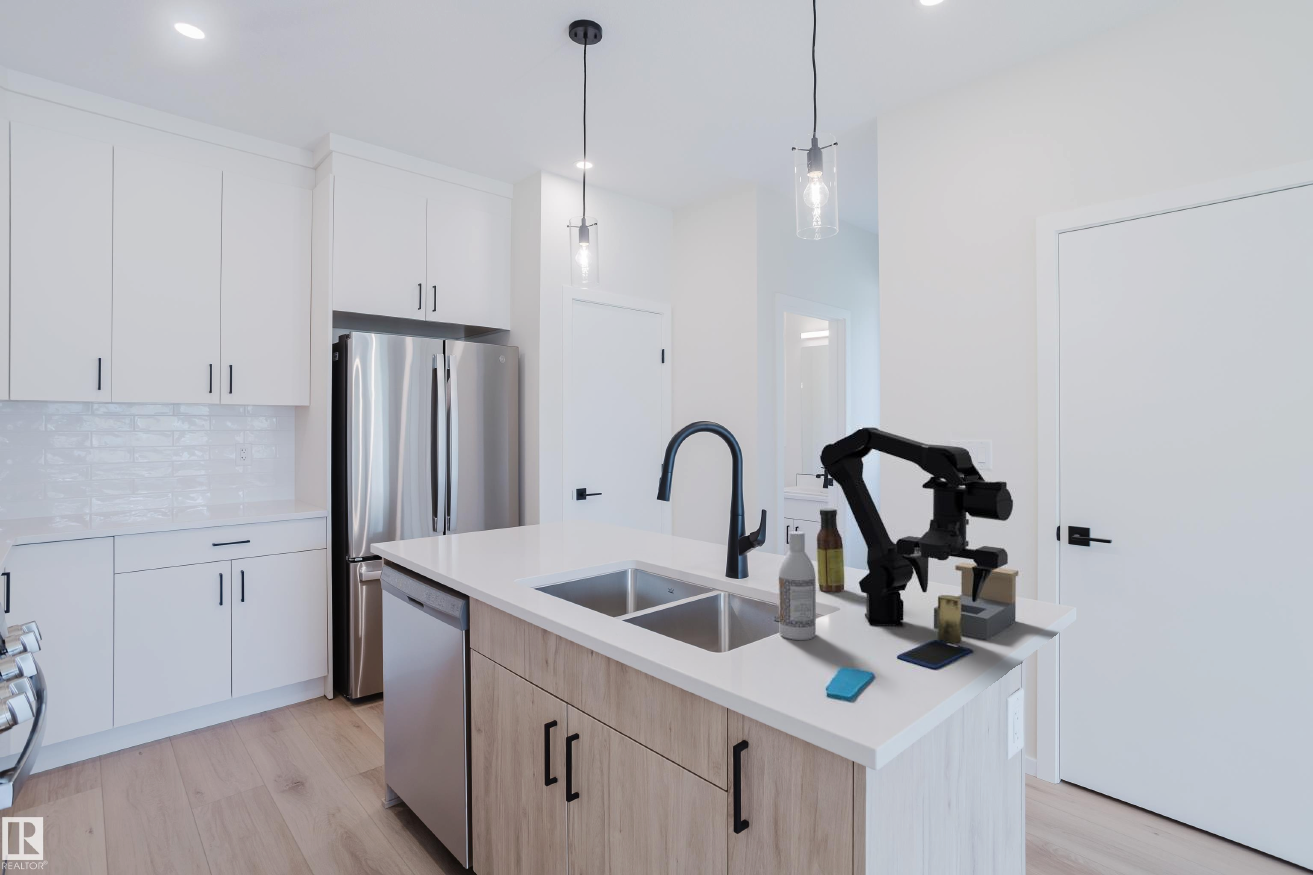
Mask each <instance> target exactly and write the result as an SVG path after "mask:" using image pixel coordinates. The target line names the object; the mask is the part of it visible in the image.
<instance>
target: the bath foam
mask: <svg viewBox="0 0 1313 875" xmlns="http://www.w3.org/2000/svg"><path fill="white" fill-rule="evenodd" d="M805 534H806V533H805V532H804V531H798V530H797V531H796V530H795V531H790V532H789V533H788V535H789V538H788V540H789V541H788V542H789V543H788V546H789V548H788V549H789V550H788V552H787V554H786V555H785V556H784V557H783V560H782V562H781V563H780V566H779V570H778V631H779V634H780V636H781V637H783V638H786V639H788V640H792V641H807V640H811V639H813V638H815V636H816V632H817V630H816V627H817V624H816V621H817V617H816V616H817V615H816V611H817V610H816V608H817V605H816V604H817V602H816V596H817V595H816V594H817V593H816V591H817V590H816V586H817V585H816V583H817V582H816V580H817V579H816V571H815V567H814V564H813V562H812V560H811V558H810V557H809V556H808V554H807V552H806V551H805V550H806V542H805V541H806V540H805V539H806V535H805ZM781 634H782V635H781Z"/></svg>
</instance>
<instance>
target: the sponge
mask: <svg viewBox="0 0 1313 875" xmlns="http://www.w3.org/2000/svg"><path fill="white" fill-rule="evenodd" d="M874 677H875V674H874V673H873V672H871V671H868V670H865V669H864V670H863V669H858V668H851V667H845V666H842V667H840V668H838V670H837V672H836V673H835V674H834V676H833V677H832V678H831V680H830V682H829V683H828V684H827V685H826V686H825V691H826V693H825V694H826V698H827V697H828V698H832V699H837V700H843V701H846V702H853V700H855V699H856V697H857V696H858V695H859V694H860V693H861V691H863V690H864V689H865V687H866V686H867V685H868V684H869V683H870V682H871V681H872V680H873V679H874Z"/></svg>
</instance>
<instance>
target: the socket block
mask: <svg viewBox="0 0 1313 875" xmlns="http://www.w3.org/2000/svg"><path fill="white" fill-rule="evenodd" d="M976 565H977V564H976V563H968V562H961V563H958V564H956V565H955V567H954V568H955V571H958V572H961V575H960V576H961V577H960V578H961V583H960V584H961V586H960V587H961V588H960V589H961V590H960V591H961V592H960V595H957V597H960V598H961V635H964V636H968V637H972V638H977V639H981V640H982V639H983V640H987V641H988V640H989V639H991V638H992V637H994V636H996V635H997V634H998V633H1000V632H1001V631H1002V630H1004V629H1005V628H1007V627H1009V626H1010V625H1012V624H1013V623H1015V622H1016V615H1017V614H1016V599H1017V598H1016V591H1017V590H1016V588H1017V587H1016V583H1017V581H1016V577H1019V570H1017V569H1011V568H1009V569H1008V568H1003V567H999V568H997V569H995V570H993V571H991V573H990V575H989V576H988V578H987V580H986V582H985V583H984V586H983V588H982V590H981V592H980V595H979V597H978V599H977V601H976V602H973V601H972V587H973V576H974V574H973V570H972V567H973V566H976ZM933 628H934V629H937V630H938V605H937V606H935V607H933Z"/></svg>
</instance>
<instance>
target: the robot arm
mask: <svg viewBox="0 0 1313 875" xmlns="http://www.w3.org/2000/svg"><path fill="white" fill-rule="evenodd" d="M872 450H875V451H878V452H880V453H881V452H882V453H884V454H887V455H891V456H892V457H896V458H899V459H901V460H905V461H907V462H908V461H909V462H911V463H913V464H915V465H917V466H918V467H919V468H920V469H921V470H922V471H924V472H926V473H928V474H929V475H931V476H930V478H929V479H928V480H927V481H926V482H924V483H923V484H922V486H921V488H922V489H929V490H932V491H933V492H932V494H933V495H932V496H933V497H932V498H933V499H932V500H933V502H932V507H933V508H932V518H931V519H930V522H929V527H928V530H927V531H925V533H923V535H922V536H921V537H919V536H914V535H913V536H912V535H907V536H904V537H901V538H898V539H897V541H896V542H893V540H892V539H891V537H890V536H889V533H888V530H887V528H886V527H885V524H884V522H883V520H882V517H881V516H880V515H881V514H880V513H879V511H878V509H877V507H876V505H875V502H874V500H873V498H872V495H871V493H870V491H869V489H868V487H867V485H866V482H865V480H864V477H863V473H864V462H863V459H864V458H865V457H866V456H868V455H869V454H870V452H872ZM819 458H820V459H819V460H820V463H821V465H822V467H823V468H824V470H825V471H826V473H827V475H828V476H829V477H831V479H832V480H833V481H835V482H836V484H838V485H839V486H840V488H841V490H842V492H843V495H844V497H845V499H846V501H847V503H848V506H849V509H850V511H851V512H852V515H853V517H854V520H855V522H856V524H857V527H858V528H859V532H860V534H861V536H862V539H863V540H864V542H865V545H866V548H867V556H866V558H867V559H866V566H867V568H868V573H867V574H866V575H865V576H863V577H862V578H861V579H860V581H859V582H858V584H859V588H860V592H861V593H863V594H866V598H865V600H866V602H865V603H866V604H865V605H866V606H865V607H866V609H865V610H866V612H865V613H864V617H865V619H866V621H867V623H868V624H869V625H871V626H874V625H875V626H895V627H896V626H898V627H901V626H902V627H903V624H904V623H903V621H904V600H903V599H902V598H901V595H902V594H901V591H905V590H906V588H907V586H908V583H910V582H911V580H912V578H913V576H914V573H915V576H916V578H917V581H918V583H919V586H920V589H921V591H922V592H921V593H927V591H928V587H929V563H930V562H929V561H930V560H929V559H934V560H935V559H936V560H938V561H947V560H948V559H949V558H950V557H952V558H960V559H967V560H973V562H974V564H977V565H976V566H973V567H972V570H973V574H974V576H973V587H972V601H973V602H976V601H977V599H978V597H979V595H980V592H981V590H982V588H983V586H984V583H985V582H986V580H987V578H988V576H989V575H990V573H991V571H993V570H995V569H997V568H1003V566H1005V565H1008V564H1009V562H1008V559H1009V555H1008V552H1007V550H1006V549H1005V548H1002V547H996V546H989V545H983V546H981V547H977V548H976V549H974V548H967V547H969V540H967V526H969V525H970V523H969V520H970V519H969V518H967V514H968V515H969V516H970V517H971V518H978V519H979V518H980V519H986V520H993V521H1003V522H1006V521H1007V520H1009V518H1010V516H1011V515H1012V512H1013V508H1014V501H1013V498H1012V493H1011V492H1010V490H1009V489H1008V488H1007V487H1008V486H1007V485H1008V483H1007V481H1001V480H1000V481H986V480H985V478H984V477H983V476H982V474H981V472H979V470H978V468H977V467H976V466H975V465H974V463H973V459H972V455H971V454H970V451H968V449H966V448H964V447H962V446H961V447H960V446H952V445H944V444H943V445H942V444H940V445H939V444H928V443H924V442H920V441H917V440H914V439H910V438H907V437H904V436H900V435H898V434H894V433H892V432H887V431H883V430H880V428H877V427H874V426H873V427H868V426H867V427H860V428H858V429H857V430H855V431H854V432H853V433H851V434H849V435H847V436H845V437H843V438H841V439H839V440H836V441H835V442H834V443H828V444H826V445H825V446H824V447H823V448H822V450H821V454H820V455H819Z"/></svg>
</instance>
